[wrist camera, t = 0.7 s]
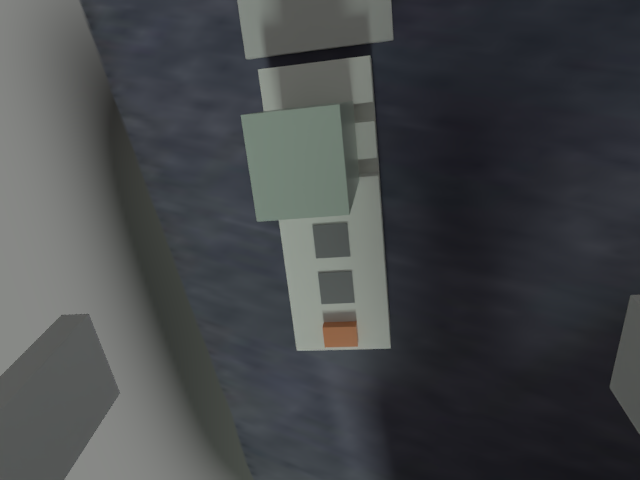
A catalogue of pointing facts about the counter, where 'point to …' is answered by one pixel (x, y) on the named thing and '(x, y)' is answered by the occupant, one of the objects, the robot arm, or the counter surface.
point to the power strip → (336, 220)
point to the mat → (312, 25)
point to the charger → (302, 161)
